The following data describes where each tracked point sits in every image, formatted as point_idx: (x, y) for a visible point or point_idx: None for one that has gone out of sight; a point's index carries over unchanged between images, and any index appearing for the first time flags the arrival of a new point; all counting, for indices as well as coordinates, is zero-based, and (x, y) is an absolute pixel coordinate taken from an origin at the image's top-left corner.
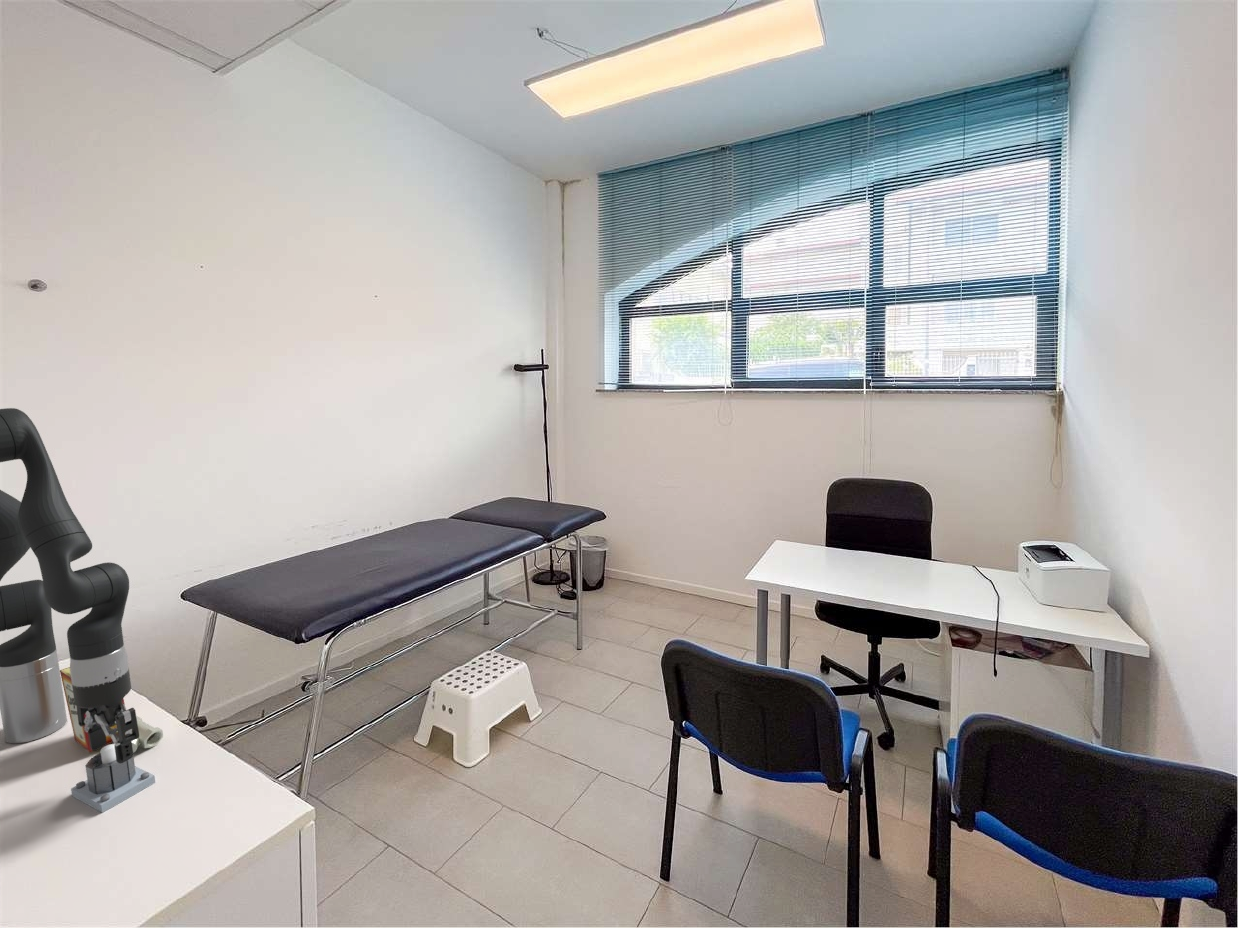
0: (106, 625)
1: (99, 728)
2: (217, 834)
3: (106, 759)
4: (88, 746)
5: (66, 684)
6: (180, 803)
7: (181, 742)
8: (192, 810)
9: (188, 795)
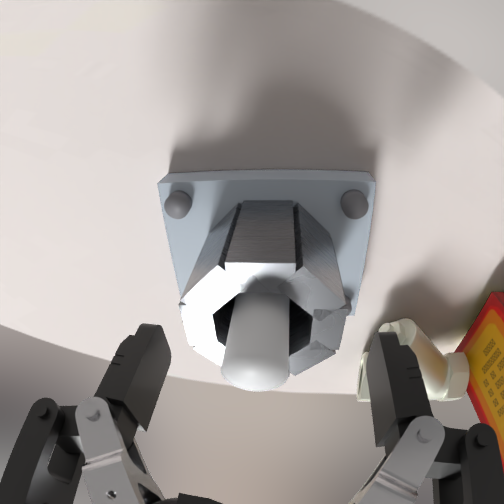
0: None
1: (386, 437)
2: None
3: (236, 321)
4: (499, 302)
5: None
6: (63, 273)
7: (311, 380)
8: (31, 269)
9: (78, 292)
